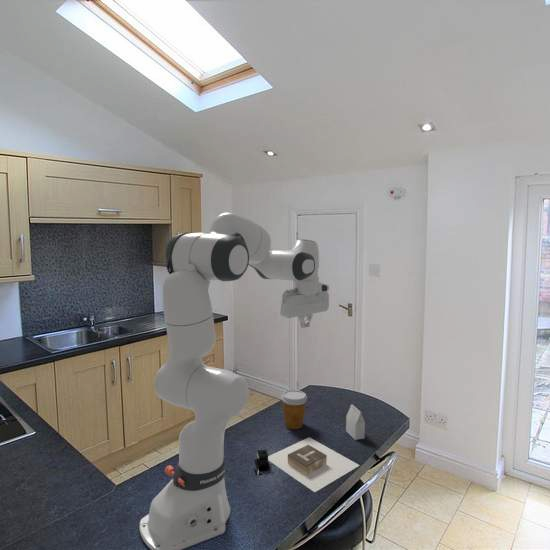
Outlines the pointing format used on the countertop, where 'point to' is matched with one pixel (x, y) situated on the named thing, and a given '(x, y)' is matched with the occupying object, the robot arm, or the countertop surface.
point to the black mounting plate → (261, 462)
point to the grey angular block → (355, 423)
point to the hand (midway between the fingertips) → (305, 327)
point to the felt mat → (321, 476)
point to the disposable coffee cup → (294, 408)
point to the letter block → (307, 459)
